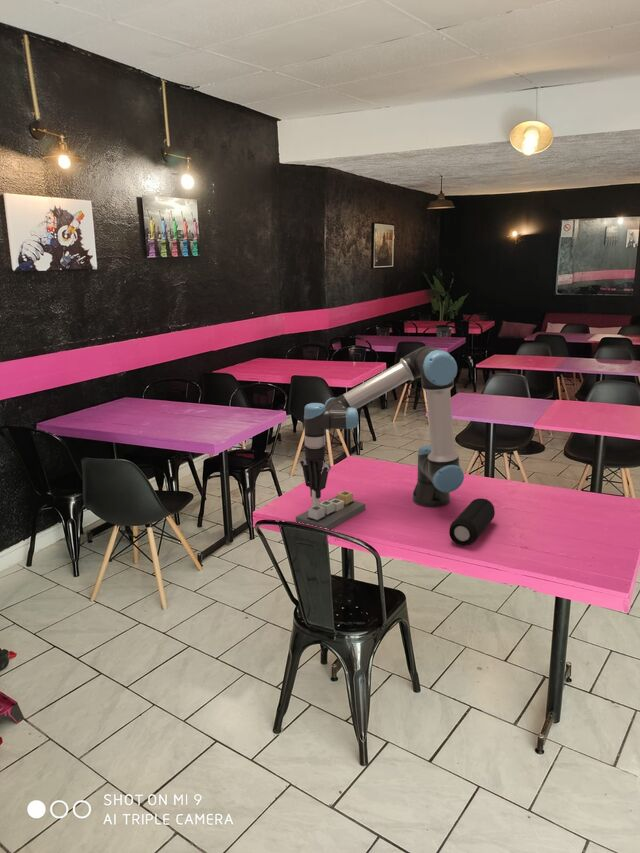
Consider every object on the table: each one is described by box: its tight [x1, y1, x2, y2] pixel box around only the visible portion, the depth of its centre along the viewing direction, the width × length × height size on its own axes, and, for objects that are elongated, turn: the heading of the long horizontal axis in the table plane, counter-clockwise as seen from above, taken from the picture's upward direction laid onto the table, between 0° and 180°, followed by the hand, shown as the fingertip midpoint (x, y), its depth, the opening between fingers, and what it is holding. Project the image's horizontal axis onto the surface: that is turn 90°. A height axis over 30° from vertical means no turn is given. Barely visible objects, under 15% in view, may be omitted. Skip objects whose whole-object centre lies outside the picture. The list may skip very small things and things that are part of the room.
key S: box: [336, 490, 354, 504], centre depth 248 cm, size 4×4×4 cm
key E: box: [307, 505, 325, 520], centre depth 235 cm, size 4×4×4 cm
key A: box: [318, 499, 335, 515], centre depth 240 cm, size 4×4×4 cm
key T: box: [331, 498, 344, 511], centre depth 244 cm, size 4×4×4 cm
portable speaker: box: [448, 498, 496, 547], centre depth 225 cm, size 26×10×10 cm, turn 148°
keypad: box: [295, 495, 366, 530], centre depth 243 cm, size 14×26×2 cm, turn 141°
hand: (315, 505), depth 234 cm, fingers closed
